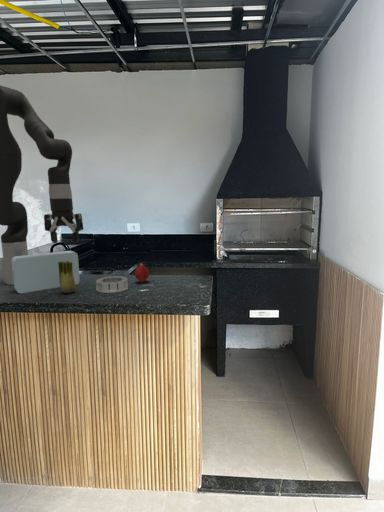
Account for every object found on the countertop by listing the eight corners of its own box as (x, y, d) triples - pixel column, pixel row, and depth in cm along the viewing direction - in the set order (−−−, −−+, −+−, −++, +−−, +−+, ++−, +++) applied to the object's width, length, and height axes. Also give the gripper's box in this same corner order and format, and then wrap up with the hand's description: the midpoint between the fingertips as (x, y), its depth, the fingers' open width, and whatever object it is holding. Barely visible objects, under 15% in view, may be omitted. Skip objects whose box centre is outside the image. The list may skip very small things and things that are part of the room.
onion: (142, 280, 144) (142, 261, 143) (152, 282, 141) (151, 263, 139) (132, 282, 140) (131, 263, 138) (141, 285, 136) (141, 265, 135)
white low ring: (90, 292, 127) (89, 283, 126) (105, 283, 138) (105, 275, 138) (120, 294, 124) (119, 284, 124) (133, 285, 136) (132, 276, 135)
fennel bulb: (58, 292, 127) (55, 261, 125) (70, 289, 131) (68, 259, 128) (65, 295, 123) (63, 263, 121) (78, 292, 127) (76, 261, 124)
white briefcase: (75, 281, 144) (73, 250, 141) (79, 283, 139) (77, 251, 137) (14, 290, 130) (10, 256, 128) (17, 294, 125) (13, 258, 123)
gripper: (36, 198, 119) (41, 244, 122) (72, 197, 116) (77, 244, 119) (50, 197, 126) (54, 241, 129) (84, 196, 123) (88, 241, 126)
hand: (65, 242), depth 124 cm, fingers open, 8 cm apart
